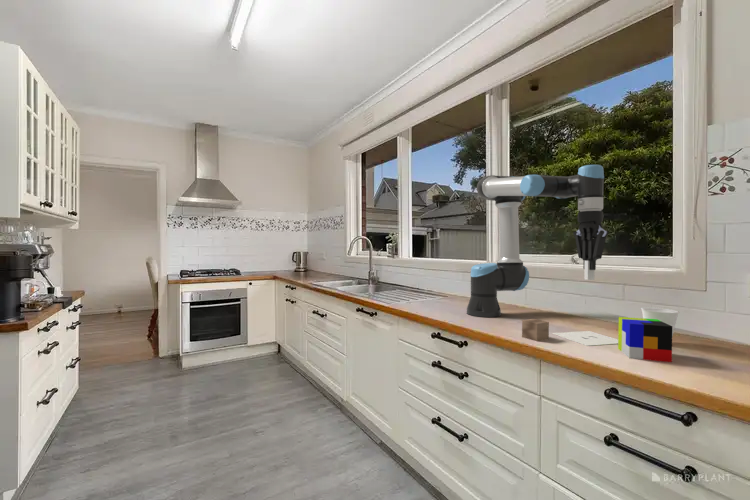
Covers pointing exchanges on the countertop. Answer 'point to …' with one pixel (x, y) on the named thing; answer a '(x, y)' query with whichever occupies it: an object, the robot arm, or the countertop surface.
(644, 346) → the puzzle toy
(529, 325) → the walnut block
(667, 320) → the cup
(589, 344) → the mat
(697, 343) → the countertop surface
